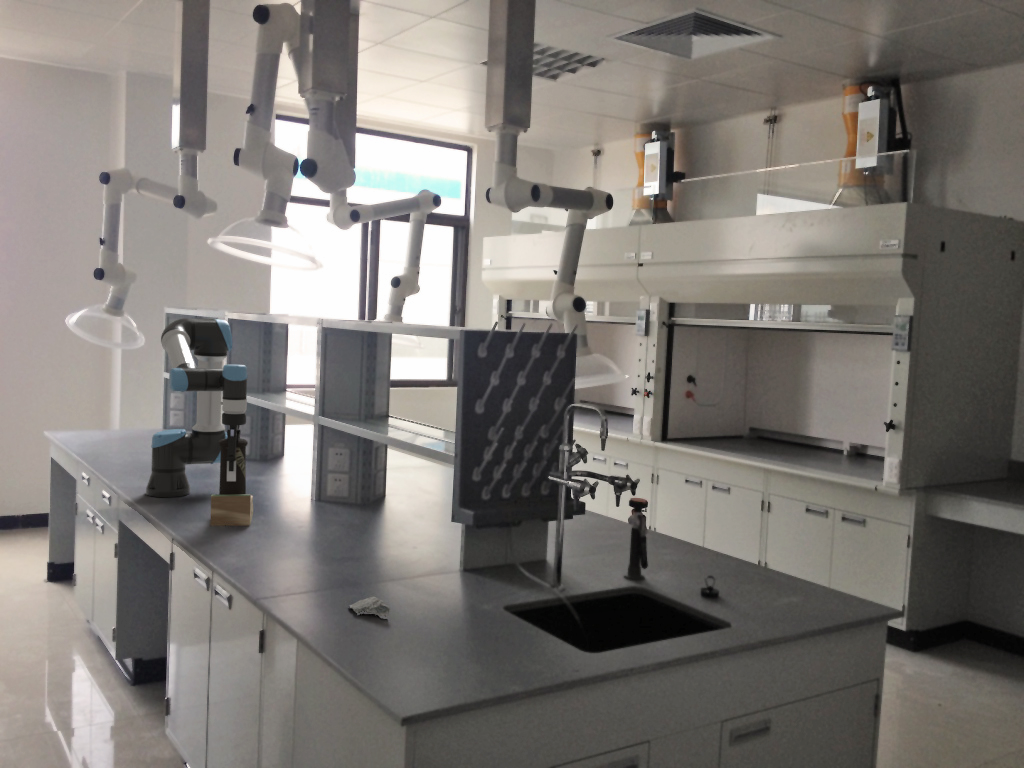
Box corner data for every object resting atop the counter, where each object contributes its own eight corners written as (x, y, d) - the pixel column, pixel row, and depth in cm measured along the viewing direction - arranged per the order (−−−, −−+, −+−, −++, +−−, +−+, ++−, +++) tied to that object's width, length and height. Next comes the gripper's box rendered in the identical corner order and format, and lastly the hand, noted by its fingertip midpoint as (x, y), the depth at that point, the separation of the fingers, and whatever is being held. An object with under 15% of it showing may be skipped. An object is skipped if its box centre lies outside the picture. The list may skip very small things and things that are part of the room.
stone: (364, 626, 200) (365, 608, 200) (345, 608, 211) (346, 591, 210) (391, 622, 204) (392, 605, 203) (371, 605, 214) (372, 588, 214)
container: (238, 502, 286) (239, 440, 285) (212, 500, 288) (213, 439, 286) (251, 497, 295) (252, 437, 293) (226, 495, 296) (227, 435, 295)
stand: (215, 513, 300) (216, 484, 299) (253, 513, 303) (253, 484, 302) (210, 525, 283) (211, 495, 283) (249, 525, 286) (250, 495, 285)
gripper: (225, 407, 300) (224, 470, 302) (218, 416, 276) (217, 484, 278) (248, 408, 302) (247, 470, 304) (243, 417, 278) (242, 484, 280)
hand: (232, 477), depth 291 cm, fingers open, 13 cm apart
